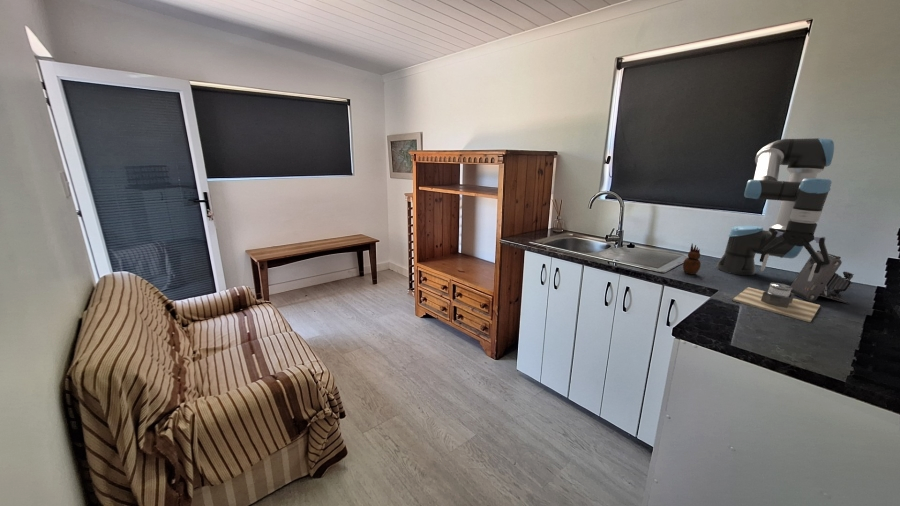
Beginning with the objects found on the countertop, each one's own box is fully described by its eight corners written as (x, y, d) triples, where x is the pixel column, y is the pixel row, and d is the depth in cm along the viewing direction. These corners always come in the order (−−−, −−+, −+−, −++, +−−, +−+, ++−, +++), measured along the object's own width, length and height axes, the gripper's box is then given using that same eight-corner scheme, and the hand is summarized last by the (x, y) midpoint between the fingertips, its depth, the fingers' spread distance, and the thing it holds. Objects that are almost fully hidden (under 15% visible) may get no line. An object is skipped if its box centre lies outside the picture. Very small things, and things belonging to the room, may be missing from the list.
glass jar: (767, 297, 136) (772, 281, 134) (788, 303, 131) (794, 286, 129) (763, 301, 132) (768, 284, 130) (785, 307, 128) (790, 290, 126)
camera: (846, 313, 134) (880, 269, 127) (802, 299, 135) (833, 254, 129) (822, 302, 144) (853, 260, 138) (782, 289, 146) (810, 247, 139)
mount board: (747, 288, 147) (748, 287, 147) (819, 307, 130) (820, 305, 130) (732, 300, 134) (733, 298, 134) (810, 322, 117) (810, 320, 117)
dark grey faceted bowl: (766, 295, 138) (769, 286, 137) (792, 302, 132) (795, 292, 131) (759, 301, 132) (762, 292, 131) (786, 308, 126) (790, 299, 125)
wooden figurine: (679, 271, 167) (685, 242, 163) (686, 270, 170) (693, 241, 165) (693, 276, 162) (700, 246, 157) (700, 274, 164) (707, 245, 160)
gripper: (756, 216, 130) (741, 268, 136) (853, 228, 111) (830, 287, 117) (761, 214, 134) (746, 264, 140) (855, 226, 115) (833, 283, 121)
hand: (784, 275), depth 129 cm, fingers open, 13 cm apart
